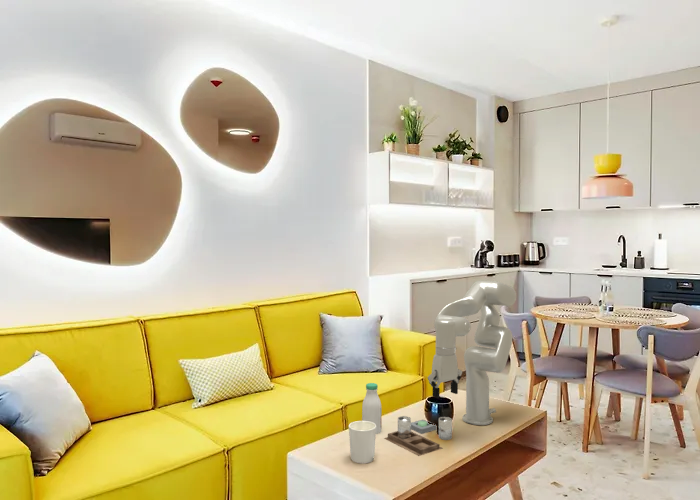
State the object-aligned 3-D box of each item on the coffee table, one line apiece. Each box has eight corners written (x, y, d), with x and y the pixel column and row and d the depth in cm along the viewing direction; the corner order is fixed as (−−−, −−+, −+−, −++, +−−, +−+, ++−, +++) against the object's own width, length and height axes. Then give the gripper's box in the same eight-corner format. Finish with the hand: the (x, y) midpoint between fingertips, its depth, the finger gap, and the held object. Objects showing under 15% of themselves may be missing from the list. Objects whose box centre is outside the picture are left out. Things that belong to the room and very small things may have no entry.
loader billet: (404, 435, 212) (404, 413, 211) (413, 439, 207) (413, 417, 207) (395, 438, 209) (395, 416, 208) (403, 442, 205) (403, 420, 204)
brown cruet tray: (407, 434, 216) (407, 427, 216) (443, 451, 199) (443, 443, 199) (383, 441, 209) (383, 434, 209) (418, 459, 192) (418, 451, 192)
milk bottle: (380, 438, 212) (379, 387, 212) (360, 436, 214) (360, 386, 213) (382, 430, 220) (382, 382, 219) (364, 429, 221) (363, 381, 221)
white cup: (349, 452, 198) (349, 420, 198) (376, 453, 198) (376, 420, 197) (348, 464, 188) (348, 430, 188) (376, 464, 188) (376, 430, 188)
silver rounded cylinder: (445, 435, 213) (445, 414, 213) (454, 440, 209) (454, 418, 208) (436, 438, 210) (436, 416, 210) (445, 443, 206) (444, 420, 206)
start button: (422, 429, 221) (422, 420, 221) (428, 432, 218) (428, 422, 218) (416, 431, 219) (416, 421, 219) (422, 433, 216) (422, 424, 216)
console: (422, 426, 224) (423, 419, 224) (436, 432, 218) (436, 425, 218) (408, 430, 220) (408, 423, 220) (421, 436, 213) (421, 429, 213)
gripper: (454, 346, 216) (454, 389, 217) (422, 352, 206) (421, 396, 207) (468, 350, 210) (468, 394, 211) (435, 355, 200) (435, 401, 201)
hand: (445, 395), depth 209 cm, fingers open, 9 cm apart
